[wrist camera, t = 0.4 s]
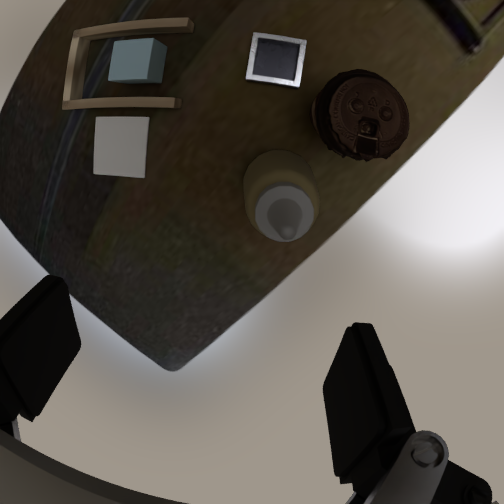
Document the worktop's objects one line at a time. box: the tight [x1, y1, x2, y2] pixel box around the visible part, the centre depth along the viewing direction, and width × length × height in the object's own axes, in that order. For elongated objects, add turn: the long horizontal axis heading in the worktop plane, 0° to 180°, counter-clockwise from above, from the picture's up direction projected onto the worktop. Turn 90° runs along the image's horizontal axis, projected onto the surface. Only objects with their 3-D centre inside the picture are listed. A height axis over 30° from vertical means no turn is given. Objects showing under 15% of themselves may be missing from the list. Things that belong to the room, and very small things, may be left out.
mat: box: [94, 117, 150, 178], centre depth 34 cm, size 8×8×1 cm
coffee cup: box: [310, 69, 409, 162], centre depth 26 cm, size 9×8×13 cm
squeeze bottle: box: [243, 150, 320, 242], centre depth 28 cm, size 8×8×18 cm
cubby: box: [62, 18, 194, 110], centre depth 29 cm, size 11×16×3 cm
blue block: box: [108, 38, 167, 84], centre depth 28 cm, size 5×5×5 cm
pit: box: [246, 32, 307, 89], centre depth 29 cm, size 6×6×2 cm
